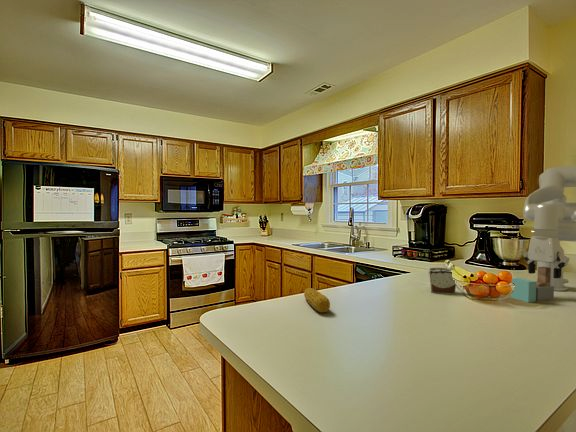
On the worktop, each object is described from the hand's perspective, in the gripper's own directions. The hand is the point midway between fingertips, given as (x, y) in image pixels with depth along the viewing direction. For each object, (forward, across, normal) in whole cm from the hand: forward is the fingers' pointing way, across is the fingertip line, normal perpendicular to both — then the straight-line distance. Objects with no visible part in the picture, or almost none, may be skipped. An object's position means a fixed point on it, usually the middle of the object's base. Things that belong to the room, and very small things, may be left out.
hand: (543, 275), depth 131 cm
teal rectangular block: (+9, 0, -11) cm, 15 cm away
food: (+10, -15, -95) cm, 97 cm away
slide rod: (+6, 0, -2) cm, 6 cm away
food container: (+10, -19, -34) cm, 40 cm away
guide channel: (+9, 0, -3) cm, 10 cm away
